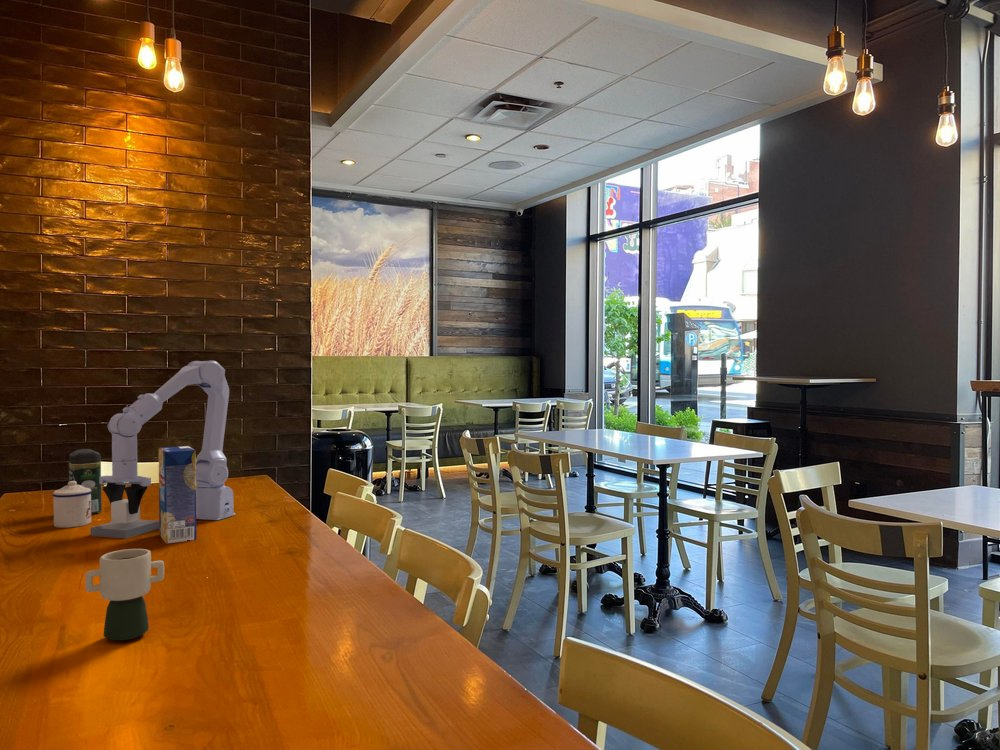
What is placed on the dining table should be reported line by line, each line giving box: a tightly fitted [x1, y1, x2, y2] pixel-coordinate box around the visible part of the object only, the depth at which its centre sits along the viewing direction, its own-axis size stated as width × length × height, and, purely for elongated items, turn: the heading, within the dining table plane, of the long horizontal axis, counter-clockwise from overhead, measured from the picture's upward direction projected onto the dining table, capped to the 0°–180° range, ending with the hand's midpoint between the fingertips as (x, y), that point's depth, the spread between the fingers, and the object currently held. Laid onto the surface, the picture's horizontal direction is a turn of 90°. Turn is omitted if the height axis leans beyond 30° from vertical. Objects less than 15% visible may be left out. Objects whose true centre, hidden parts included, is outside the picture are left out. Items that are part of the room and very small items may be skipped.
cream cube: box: [110, 498, 141, 523], centre depth 180 cm, size 5×5×5 cm
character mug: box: [85, 548, 165, 641], centre depth 110 cm, size 11×7×13 cm, turn 125°
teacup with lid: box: [52, 480, 92, 529], centre depth 190 cm, size 12×9×12 cm
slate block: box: [90, 519, 159, 539], centre depth 180 cm, size 11×11×2 cm
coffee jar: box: [68, 448, 103, 516], centre depth 204 cm, size 10×8×19 cm
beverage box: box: [158, 445, 197, 544], centre depth 174 cm, size 7×11×22 cm, turn 33°
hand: (125, 512), depth 180 cm, fingers closed on cream cube, 5 cm apart
